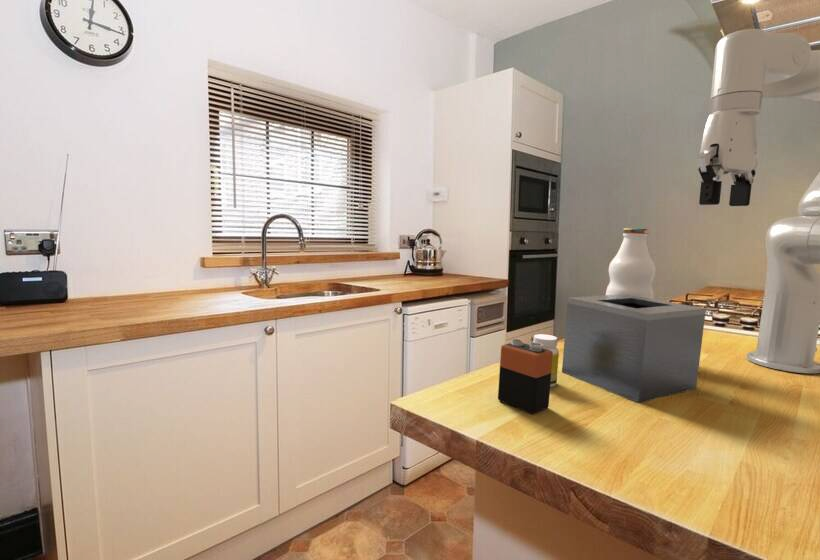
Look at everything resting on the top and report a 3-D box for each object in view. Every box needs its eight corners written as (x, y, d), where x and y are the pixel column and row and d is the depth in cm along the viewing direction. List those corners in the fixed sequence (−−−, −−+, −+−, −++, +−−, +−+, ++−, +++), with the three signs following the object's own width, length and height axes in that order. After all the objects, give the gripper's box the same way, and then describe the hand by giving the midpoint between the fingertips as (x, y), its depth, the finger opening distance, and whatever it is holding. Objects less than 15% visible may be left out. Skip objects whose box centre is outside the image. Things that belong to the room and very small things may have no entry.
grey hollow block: (617, 362, 92) (623, 294, 91) (696, 388, 78) (705, 308, 77) (561, 372, 85) (567, 297, 83) (638, 402, 71) (647, 314, 69)
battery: (533, 415, 65) (538, 349, 64) (496, 400, 70) (500, 339, 69) (549, 408, 68) (554, 344, 66) (512, 394, 73) (517, 335, 71)
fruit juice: (618, 362, 92) (632, 228, 89) (591, 350, 101) (602, 227, 98) (657, 361, 94) (671, 229, 91) (626, 349, 104) (639, 228, 100)
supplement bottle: (557, 381, 80) (561, 335, 79) (554, 389, 76) (558, 341, 74) (530, 376, 82) (534, 332, 81) (526, 384, 78) (529, 337, 76)
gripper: (737, 117, 86) (728, 206, 88) (684, 106, 78) (675, 204, 80) (784, 109, 80) (772, 206, 82) (730, 96, 72) (719, 203, 74)
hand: (724, 205), depth 81 cm, fingers open, 9 cm apart
